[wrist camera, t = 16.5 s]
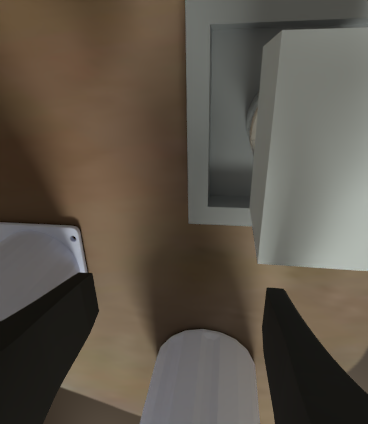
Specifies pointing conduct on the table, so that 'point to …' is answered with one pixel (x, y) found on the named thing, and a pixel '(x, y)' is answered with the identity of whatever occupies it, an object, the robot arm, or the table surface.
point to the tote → (237, 91)
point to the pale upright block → (312, 150)
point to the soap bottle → (202, 381)
